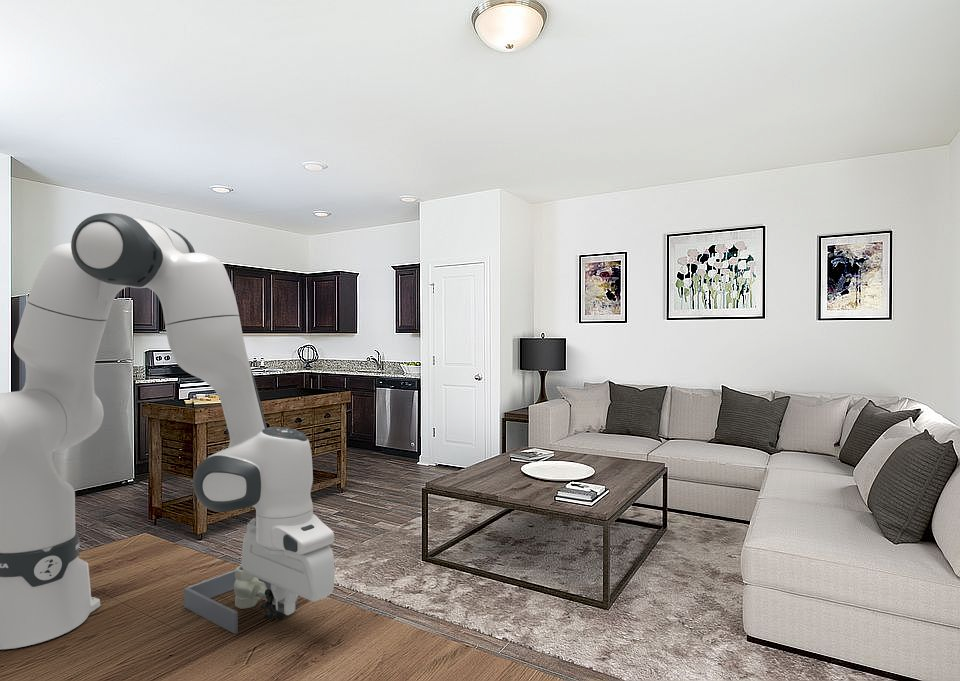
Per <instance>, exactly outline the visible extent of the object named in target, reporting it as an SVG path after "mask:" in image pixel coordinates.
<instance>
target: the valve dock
mask: <svg viewBox="0 0 960 681" xmlns="http://www.w3.org/2000/svg"><path fill="white" fill-rule="evenodd" d="M258 579H259V578H258ZM235 581H236V579H235V569H234V570H230V571H228V572H226V573H222V574H220V575H217V576H214V577H211V578H209V579H206V580H203V581H200V582H198V583H195V584H193V585H189V586H187V587H184V588H183V608H185V609H187V610H189V611H190V612H193V613H194V614H196V615H198V616H200V617H202V618H203V619H205V620H208V621H209V622H212V624H215V625H217V626H219V627H221V628H223V629H224V630H226V631H229V633H232V634H233V635H235V634H237V633H238V632H239V630H238V629H239V628H238V627H239V625H238V623H239V622H238V619H239V618H238V617H239V616H238V615H239V614H238V611H236V610H234V609H233V608H230V607H228V606H227V605H225V604H222V603H220V602H218V601H216V600H214V599H213V598H215V597H218V596H221V595H223V594H225V593H227V592H231V591H233V590H234V583H235ZM259 581H261V582H264V583H265V585H266V588H270V589H271V584H270V583H268V582H266V581H263V580H261V579H259ZM298 605H299V597H298V598H297V600H296V601H295V607H296V606H298Z"/></svg>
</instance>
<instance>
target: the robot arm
mask: <svg viewBox="0 0 960 681" xmlns="http://www.w3.org/2000/svg"><path fill="white" fill-rule="evenodd" d="M228 274H229V273H228V271H227V270H226V268H225V265H224V263H223V262H222V261H221V260H220V259H218V258H217V257H215V256H213V255H210V254H208V253H203V252H196V251H195V249H194V246H193V244H192V243H191V242H190V241H189V240H188V239H187V238H186V237H185V236H184V235H183V234H181V233H180V232H178V231H176V230H175V229H173V228H168V227H166V226H164V225H162V224H160V223H157V222H154V221H153V220H152V221H151V220H148V219H140V218H137V217H131V216H128V215H126V214H123V213H114V212H111V213H110V212H104V213H97V214H94V215H91V216H88V217H87V218H85V219H83V220H82V221H81V222H80V223H79V224H78V225H77V226H76V228H75V230H74V231H73V234H72V237H71V241H70V242H65V243H61V244H58V245H57V246H54V247H53V248H52V249H51V250H50V252H49V253H48V255H47V257H46V258H45V260H44V261H43V264H42V265H41V267H40V269H39V271H38V273H37V275H36V277H35V279H34V281H33V284H32V286H31V289H30V291H29V294H28V297H27V301H26V304H25V305H24V306H25V307H24V310H23V313H22V314H21V319H20V321H19V324H18V328H17V332H16V334H15V338H14V341H13V349H14V353H15V354H16V356H17V357H18V358H19V359H20V360H22V362H24V366H25V381H24V382H25V383H24V386H23V388H22V389H21V390H17V391H16V390H15V391H9V392H2V393H0V650H10V649H18V648H22V647H23V648H24V647H27V646H31V645H32V646H33V645H37V644H40V643H43V642H46V641H50V640H52V639H55V638H57V637H60V636H62V635H64V634H67V633H69V632H71V631H72V630H74V629H76V628H77V627H79V626H80V625H82V624H83V623H84V622H85V621H86V620H87V619H88V617H89V615H90V614H91V613H92V612H94V611H95V610H97V609H98V608H100V607H101V605H102V604H101V601H100V598H97V597H94V596H92V593H91V591H92V590H91V580H90V567H89V563H88V562H87V561H85V560H84V559H81V558H80V557H79V556H80V555H79V554H80V545H81V544H80V541H81V540H80V537H79V533H78V532H76V491H75V489H74V486H73V485H72V484H70V483H69V482H67V481H66V480H64V479H62V478H61V477H60V475H59V473H58V471H57V469H56V466H55V463H54V459H53V453H55V452H58V451H61V450H65V449H68V448H73V447H74V446H76V445H79V444H80V443H81V442H83V441H85V440H87V439H88V438H90V437H91V436H93V435H94V434H95V433H96V432H97V431H98V430H99V429H100V428H101V426H102V424H103V422H104V421H103V420H104V414H105V413H104V406H103V403H102V400H101V399H100V398H99V397H98V396H97V394H96V391H95V366H96V365H95V364H96V360H97V356H98V352H99V348H100V345H101V341H102V338H103V335H104V332H105V329H106V326H107V323H108V319H109V316H110V313H111V312H110V311H111V310H112V306H113V303H114V300H115V298H116V296H118V295H117V294H119V293H120V291H123V289H126V288H134V289H137V290H138V289H140V290H141V289H143V290H144V289H145V290H151V291H153V292H154V293H155V295H157V298H158V299H159V302H160V304H161V308H162V314H163V320H164V326H165V332H166V338H167V342H168V346H169V349H170V352H171V354H172V356H173V358H174V361H175V363H176V364H177V366H179V368H181V369H182V370H183V371H184V372H186V373H188V374H190V375H191V376H193V377H196V378H198V379H200V380H201V381H203V382H205V383H206V384H208V385H209V386H210V387H211V388H212V389H213V390H214V392H215V393H216V395H217V396H218V398H219V400H220V404H221V407H222V412H223V416H224V419H225V423H226V428H227V431H228V434H229V435H228V436H229V445H228V446H227V447H228V448H227V447H226V448H224V449H222V450H219V451H217V452H214V453H213V454H211V455H209V456H208V457H206V458H205V459H203V460H202V461H201V462H200V463H199V464H198V465H197V467H196V468H195V471H194V473H193V477H192V488H193V492H194V494H195V496H196V498H197V500H198V502H200V503H201V505H202V506H203V507H205V508H207V509H208V510H210V511H213V512H218V513H223V512H224V513H225V512H231V511H237V510H242V509H247V508H250V507H252V508H254V509H255V517H253V518H252V519H251V520H249V522H248V523H247V525H246V532H245V534H244V535H243V536H244V537H243V539H242V540H243V542H242V549H241V565H242V568H243V570H244V572H245V573H247V574H249V575H251V576H254V577H256V578H259V579H261V580H263V581H266V582H268V583H270V584H271V590H272V593H273V596H274V598H275V600H276V610H277V611H279V612H282V613H283V614H284V615H286V616H290V615H292V614H293V613H294V612H295V611H296V606H295V601H296V600H297V598H298V599H299V597H301V598H303V599H306V600H308V601H310V602H313V603H315V602H318V601H321V600H323V599H324V598H327V597H328V596H330V595H331V594H332V592H333V591H334V589H335V588H334V587H335V556H334V552H333V550H332V548H331V546H330V545H332V544H333V543H334V541H335V533H334V531H333V530H332V529H331V528H330V527H329V526H327V525H326V524H325V523H324V522H323V521H322V520H321V519H320V518H319V517H318V516H317V515H316V514H315V513H314V504H313V501H312V497H311V495H312V494H311V492H312V491H311V490H312V486H313V482H314V474H313V472H314V471H313V470H314V468H313V458H312V457H313V456H312V455H313V454H312V448H311V444H310V441H309V437H307V435H306V434H304V433H303V432H301V431H300V430H298V429H294V428H291V427H283V426H282V427H281V426H279V427H276V426H273V427H272V426H271V427H267V423H266V419H265V415H264V411H263V406H262V402H261V400H260V395H259V390H258V387H257V384H256V380H255V375H254V373H253V370H252V366H251V364H250V361H249V356H248V353H247V350H246V344H245V340H244V335H243V330H242V323H241V317H240V312H239V308H238V307H239V306H238V304H237V300H236V299H237V298H236V295H235V292H234V288H233V286H232V283H231V281H230V280H231V279H230V277H229V275H228Z"/></svg>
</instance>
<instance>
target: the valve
mask: <svg viewBox="0 0 960 681" xmlns="http://www.w3.org/2000/svg"><path fill="white" fill-rule="evenodd" d="M234 570H235V579H236V581H235V583H234V589H233V590H234V591H233V592H234V594H235V597H234V605H235V607H236V608H238V609H249V608H253V607H255V606H256V605H257V604H258V603H259V600H260V599H262V600H265V601H263V602H261V603H260V609H262V610H263V611H268V613H265V614H264V618H265V619H266V620H268V621H272V620H273V619H274V618H275V619H276V620H279V621H281V620H282V621H283V619H284V617H285V614H284V613H282V612H279V611H277V610H276V600H275V598H274V596H273V593H272V590H271V589H270V588H266V585H265V583H264V582H261V581H259V579H258V578H256V577H254V576H251V575H249V574H247V573H245V572H244V570H243V568H242V564H240V565H238V566H237V567H236V568H235V569H234ZM266 601H267V602H266Z"/></svg>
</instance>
